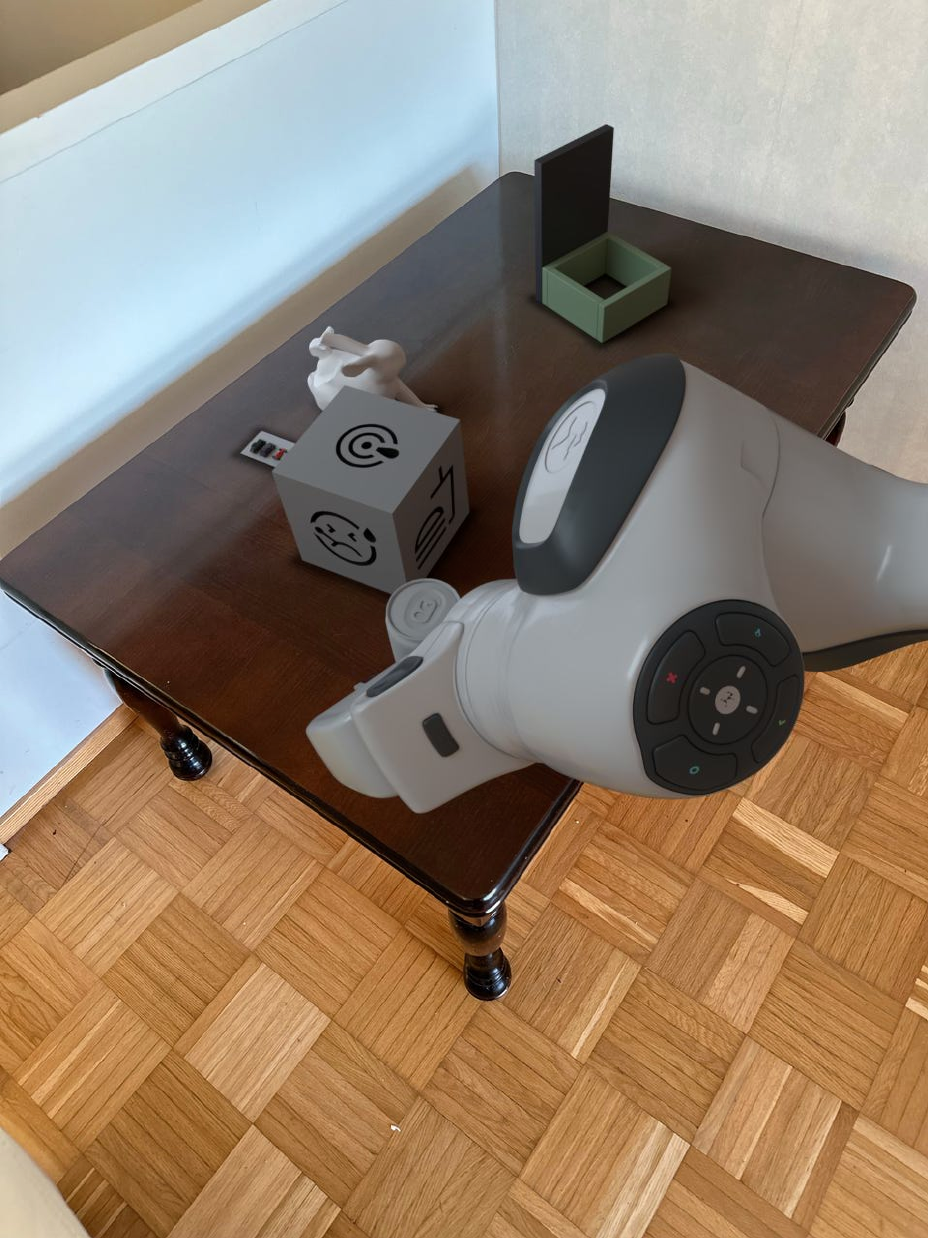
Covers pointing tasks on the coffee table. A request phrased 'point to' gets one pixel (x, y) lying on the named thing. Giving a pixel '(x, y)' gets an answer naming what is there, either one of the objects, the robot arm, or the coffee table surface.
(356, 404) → the icon cube
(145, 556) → the coffee table surface
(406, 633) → the beverage can
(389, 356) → the rabbit figurine
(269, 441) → the toy car tray
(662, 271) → the stand
